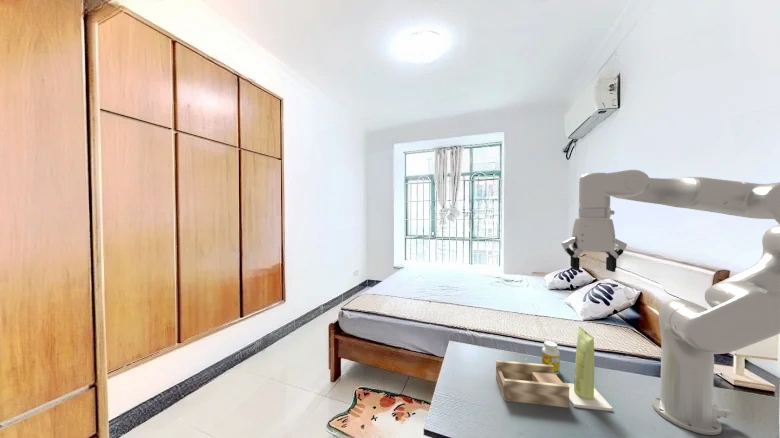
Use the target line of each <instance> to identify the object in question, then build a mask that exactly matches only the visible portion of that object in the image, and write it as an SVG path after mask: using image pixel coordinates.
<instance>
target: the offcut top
mask: <svg viewBox="0 0 780 438" xmlns="http://www.w3.org/2000/svg"><path fill="white" fill-rule="evenodd" d="M532 381H534V382H544V383H554V384H564V383H565V382H563V381H562V380H561V379H560V378H559V377H558V374H555V373H539V372H532Z"/></svg>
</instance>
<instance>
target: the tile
mask: <svg viewBox="0 0 780 438" xmlns="http://www.w3.org/2000/svg"><path fill="white" fill-rule="evenodd" d="M563 383H564V385H568V386H569V403H570V404H571V405H572V406H573V408H580V409H590V410H599V411H607V412H614V407H612V405H610V404H609V402H608V401H607V400H606V399H605V398H604V397H603V396H602V395H601V393H600V392H599V391H598V390H597V389H596V388H595V387H594V398H592V399H586V398H583V397H580V396H579V395H577V394H576V393H575V392H574V383H569V382H563Z"/></svg>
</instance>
